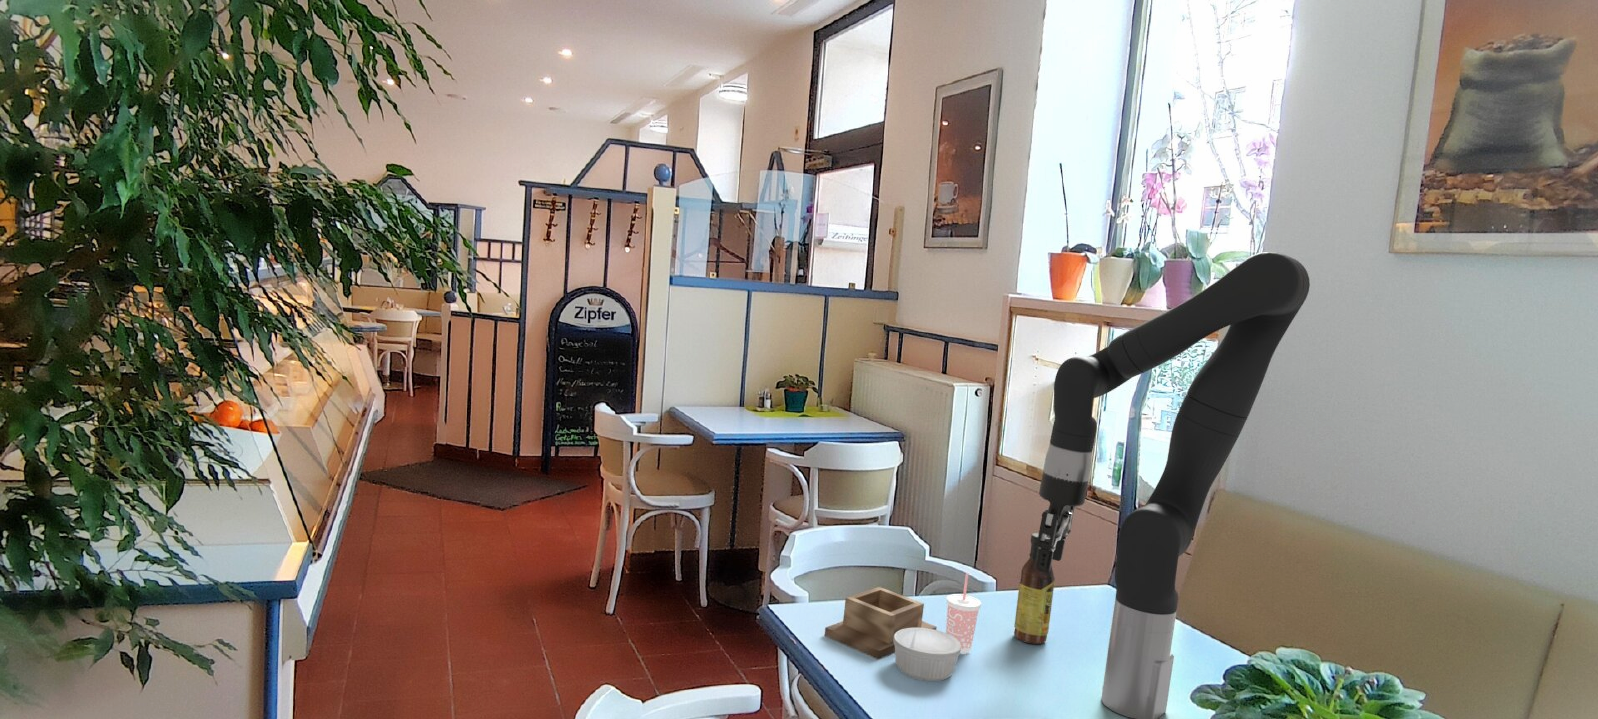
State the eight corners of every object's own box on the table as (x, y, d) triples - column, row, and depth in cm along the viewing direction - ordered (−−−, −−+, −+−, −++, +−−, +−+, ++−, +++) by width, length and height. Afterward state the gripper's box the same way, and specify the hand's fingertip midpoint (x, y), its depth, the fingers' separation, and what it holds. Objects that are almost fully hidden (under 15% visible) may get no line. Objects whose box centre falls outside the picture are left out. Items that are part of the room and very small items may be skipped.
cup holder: (935, 634, 169) (939, 600, 168) (878, 659, 155) (882, 622, 155) (883, 613, 177) (887, 581, 176) (824, 635, 163) (828, 600, 163)
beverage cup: (934, 642, 165) (943, 568, 164) (962, 640, 168) (971, 566, 166) (953, 657, 160) (963, 580, 158) (982, 654, 162) (991, 578, 161)
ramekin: (879, 657, 157) (882, 627, 156) (936, 653, 161) (940, 625, 160) (909, 687, 146) (913, 656, 146) (969, 682, 150) (973, 652, 150)
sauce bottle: (1047, 648, 168) (1061, 543, 166) (1013, 642, 169) (1026, 538, 167) (1045, 634, 174) (1059, 534, 172) (1012, 629, 176) (1025, 529, 174)
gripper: (1079, 485, 146) (1061, 582, 148) (1096, 472, 158) (1079, 561, 160) (1033, 474, 149) (1016, 568, 151) (1053, 462, 162) (1037, 549, 164)
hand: (1048, 564), depth 156 cm, fingers open, 8 cm apart
